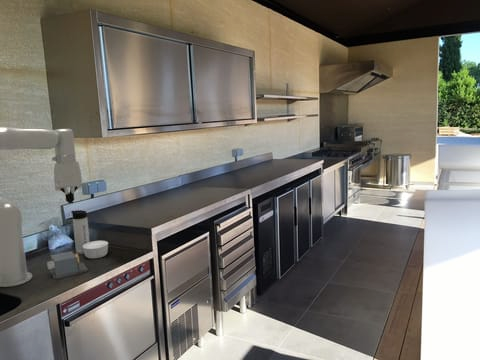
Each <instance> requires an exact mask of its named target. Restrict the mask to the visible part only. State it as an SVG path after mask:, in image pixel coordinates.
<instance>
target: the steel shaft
mask: <svg viewBox="0 0 480 360" xmlns="http://www.w3.org/2000/svg"><path fill="white" fill-rule="evenodd" d="M73 254H74V255H75V256H76V258H77V266H78V265H80V263H81V262H80V256H79V254H78V253H76V252H75V253H73ZM46 264H47V269H48V270H52V269H53V268H55V267H54V261H51V260H50V261H47V263H46Z"/></svg>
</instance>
